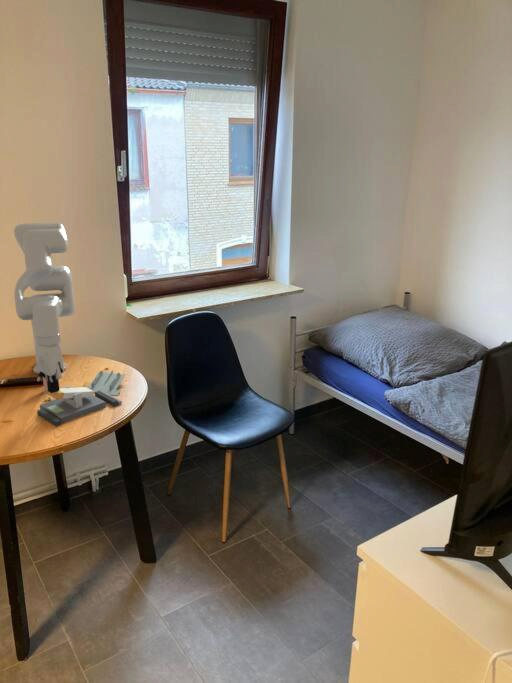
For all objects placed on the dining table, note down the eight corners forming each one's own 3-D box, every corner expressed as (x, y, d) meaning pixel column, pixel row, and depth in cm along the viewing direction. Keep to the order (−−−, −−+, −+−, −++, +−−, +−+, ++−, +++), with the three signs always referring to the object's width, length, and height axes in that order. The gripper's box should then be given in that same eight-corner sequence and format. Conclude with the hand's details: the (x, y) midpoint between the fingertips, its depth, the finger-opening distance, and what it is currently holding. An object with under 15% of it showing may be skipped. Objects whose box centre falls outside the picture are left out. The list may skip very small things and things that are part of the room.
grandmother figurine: (53, 386, 205) (50, 355, 201) (60, 389, 203) (57, 357, 199) (36, 393, 199) (32, 361, 195) (43, 396, 197) (39, 364, 193)
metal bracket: (94, 366, 211) (130, 370, 208) (97, 377, 214) (132, 381, 212) (77, 390, 200) (115, 394, 197) (80, 401, 203) (118, 406, 200)
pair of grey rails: (38, 415, 183) (37, 410, 183) (101, 393, 201) (100, 388, 200) (57, 428, 175) (57, 423, 175) (121, 403, 193) (121, 399, 192)
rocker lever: (47, 394, 183) (48, 387, 183) (84, 392, 194) (85, 386, 194) (57, 399, 179) (58, 393, 179) (93, 397, 190) (94, 391, 190)
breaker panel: (40, 410, 187) (38, 391, 185) (84, 394, 199) (82, 377, 197) (61, 423, 178) (59, 404, 176) (105, 406, 190) (104, 388, 188)
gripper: (25, 336, 177) (32, 388, 183) (48, 347, 168) (54, 401, 173) (47, 332, 182) (53, 382, 188) (70, 341, 173) (75, 394, 179)
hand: (53, 391), depth 181 cm, fingers closed
